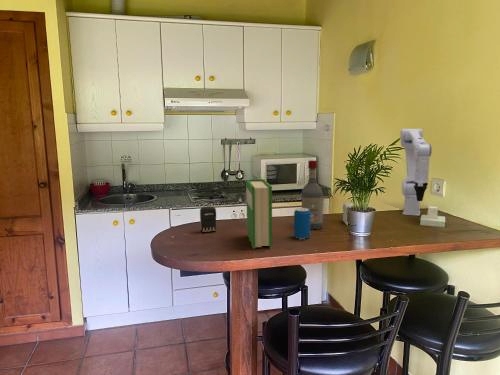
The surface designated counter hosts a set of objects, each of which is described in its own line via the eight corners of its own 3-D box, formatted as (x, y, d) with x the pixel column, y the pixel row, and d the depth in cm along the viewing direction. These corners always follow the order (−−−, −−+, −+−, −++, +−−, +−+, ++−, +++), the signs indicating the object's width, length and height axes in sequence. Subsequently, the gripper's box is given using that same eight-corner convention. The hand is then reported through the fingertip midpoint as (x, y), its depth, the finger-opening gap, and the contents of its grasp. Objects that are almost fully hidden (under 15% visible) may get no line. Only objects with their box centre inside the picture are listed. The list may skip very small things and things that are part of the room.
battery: (201, 233, 168) (200, 208, 166) (200, 231, 172) (199, 206, 170) (217, 232, 170) (216, 207, 168) (216, 230, 173) (215, 205, 172)
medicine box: (356, 225, 178) (356, 206, 176) (346, 225, 178) (346, 207, 176) (351, 221, 186) (352, 203, 184) (342, 221, 186) (343, 203, 184)
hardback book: (272, 248, 148) (271, 186, 144) (252, 249, 147) (251, 187, 143) (264, 235, 165) (263, 179, 161) (247, 236, 164) (246, 179, 160)
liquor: (322, 230, 171) (323, 162, 166) (301, 229, 172) (302, 162, 167) (321, 224, 180) (322, 159, 175) (301, 224, 181) (301, 159, 176)
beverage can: (310, 235, 163) (311, 207, 161) (308, 240, 157) (309, 211, 155) (295, 234, 165) (295, 207, 163) (292, 239, 159) (293, 210, 156)
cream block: (427, 216, 181) (428, 206, 180) (436, 217, 180) (437, 206, 179) (427, 218, 178) (428, 207, 177) (437, 219, 176) (437, 208, 175)
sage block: (421, 219, 186) (421, 214, 185) (444, 221, 181) (445, 216, 181) (420, 224, 177) (420, 219, 176) (444, 227, 172) (445, 221, 172)
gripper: (413, 168, 187) (411, 196, 189) (411, 171, 174) (409, 201, 176) (429, 169, 184) (427, 197, 186) (428, 172, 171) (426, 202, 173)
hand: (420, 199), depth 181 cm, fingers open, 7 cm apart
